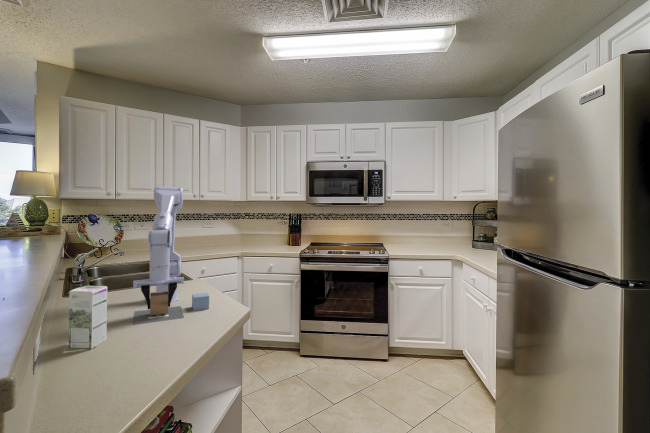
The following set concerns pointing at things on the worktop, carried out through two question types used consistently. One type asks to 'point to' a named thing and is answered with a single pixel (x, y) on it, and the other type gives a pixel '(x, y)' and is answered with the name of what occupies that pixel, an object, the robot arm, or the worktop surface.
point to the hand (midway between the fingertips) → (158, 307)
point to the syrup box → (87, 316)
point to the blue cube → (200, 301)
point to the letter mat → (157, 316)
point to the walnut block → (158, 302)
